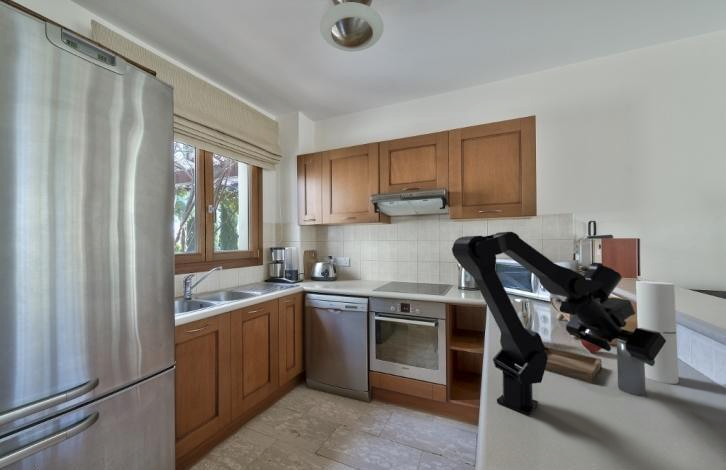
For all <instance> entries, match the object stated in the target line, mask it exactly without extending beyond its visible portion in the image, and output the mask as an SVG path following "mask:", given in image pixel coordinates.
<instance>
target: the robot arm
mask: <svg viewBox="0 0 726 470" xmlns="http://www.w3.org/2000/svg"><path fill="white" fill-rule="evenodd" d="M453 242H454V243H453V245H452V247H451V252H452V255H453V257H454V259H455V260H456V261H457V262H458V264H459V265H460V266H461V267H462V269H463V270H465V271H466V272H467V273H468V274H469V276H471V277H472V279H473V280H474V282H475V283H476V286H477V287H478V289H479V292H480V293H481V296H482V298H483V300H484V301H485V303H486V305H487V308H488V309H489V311H490V313H491V315H492V316H493V317H492V318H493V319H494V321H495V323H496V324H497V327H498V329H499V331H500V339H499V341H500V343H499V344H500V346H501V348H500V350H499V351H497V352H498V353H496V354H495V356H494V357H493V359H492V360H493V364H494V367H495V368H496V369H499V370H500V371H502V394H501V395H500V396H499V397H498V398H496V403H497V404H500V405H503V406H504V407H507V408H510V409H512V410H514V411H517V412H520V413H522V414H525V415H527V416H530V415H531V414H532V413H533V411H534V410H535V409H536V408H537V407H538V406H539V401H538V400H536V399H533V396H534V395H533V384H541V383H542V380H543V378H544V375H545V374H544V373H545V371H546V370H545V368H546V364H547V360H548V356H547V353H546V351H545V350H548V349H547V348H546V347H545V346H546V345H544V343H543V340H542V337H541V336H542V335H540V333H538V332H536V331H534V330H532V331H531V330H529V329H526V328H524V326H523V324H522V322H521V320H520V318H519V316H518V314H517V312H516V310H515V308H514V307H513V305H512V303H513V302H512V300H511V299H510V297H509V294H508V292H507V291H506V288H505V286H504V284H503V283H502V281H501V279H500V277H499V275H498V272H497V270H496V266H497V255H498V256H499V255H501V254H504V255H506V256H508V257H509V258H510V259H512V260H513V261H514V262H516V263H517V264H518V265H520V266H522V267H523V268H524V269H526V270H527V271H529V272H530V273H532V274H533V275H534V276H536V278H538V281H539V284H540V285H541V286H542V287H543V288H544V289H545V290H546V291H547V293H549V294H550V295H555V296H561V297H565V298H564V300H562V301H561V303H560V306H559V312H561V313H564V314H568V315H571V318H570V320H569V321H568V322H567V323H566V324H565V330H566V331H567V333H568V334H569V335H571V336H572V337H573V336H574V337H575V338H577V339H580V341H581V340H584V341H586V342H588V343H591V344H593V345H595V346H598V347H600V348H602V349H601V350H605V351H606V352H610V351H611V350H612V347H611V346H610V344H609V343H612V341H613V340H616V338H617V339H620V340H623V341H627V342H626V350H627V351H628V352H629V353H630V354H631V356H633V357H634V358H636V359H638V360H640V361H642V362H644V363H646V364H648V365H650V366H653V365H654V364H655V360H654V359H655V357H656V356H657V354H658V353H659V351H660V350H661V348H662V347H663V345H664V344H665V342H666V340H665V338H664V337H663V336H662V335H661V334H660V332H656V331H652V330H648V329H644V328H638V327H636V328H635V329H634V330H633V331H631V330H626V329H622V328H625V327H626V326H627V322H626V320H627V319H628V318H629V317H632V316H634V315H636V312H635V309H634V307H633V305H632V304H633V303H632V302H631V300H629V299H624V298H618V297H609V296H610V295H611V294H612V293H613V291H614V290H615V288H616V287H617V286H618V285H619V283H620V282H621V280H622V279H623V278H622V275H621V274H620V273H619V272H618V271H615V269H612V268H611V267H608V266H605V265H604V264H603V263H602V262H592V263H591V264H589V267H588V269H587V270H586V271H585V273H584V274H581V273H580V272H577V271H576V270H573V269H571V268H568V267H565V266H562V265H559V264H557V263H555V262H553V261H552V260H551V259H550V258H548V257H547V256H545V255H544V254H542V253H541V252H540V251H538V250H537V249H536V248H534V247H533V246H531V245H530V244H529V243H527V242H526V241H525V240H523V239H522V238H520V236H519V234H517V232H516V233H515V232H513V231H501V232H496V233H495V234H489V235H484V236H483V235H471V236H470V235H469V236H468V235H467V236H460V237H458V238H457V239H456V240H454V241H453Z"/></svg>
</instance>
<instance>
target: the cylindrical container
mask: <svg viewBox="0 0 726 470" xmlns="http://www.w3.org/2000/svg"><path fill="white" fill-rule="evenodd" d="M635 289H636V290H635V293H636V294H635V295H636V319H637V328H644V329H648V330H652V331H656V332H660V334H661V335H662V336H663V337H664V338H665V340H666V342H665V344H664V345H663V347H662V348H661V350H660V351H659V353H658V354H657V356H656V357H655V359H654V360H655V364H654V365H653V366H650V365H648V364H646V363H645V379H647V380H652V381H654V382H657V383H658V382H659V383H662V384H668V385H671V384H672V385H673V384H674V385H677V384H679V366H678V365H679V364H678V360H679V359H678V344H677V343H678V341H677V340H678V338H677V337H678V336H677V320H676V318H677V317H676V297H675V296H676V295H675V294H676V292H675V283H672V282H667V281H666V282H664V281H654V280H653V281H651V280H636V281H635Z"/></svg>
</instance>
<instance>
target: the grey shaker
mask: <svg viewBox="0 0 726 470" xmlns="http://www.w3.org/2000/svg"><path fill="white" fill-rule="evenodd" d="M615 340H616V363H617V364H616V365H617V388H618V390H620V391H621V392H624V393H626V394H630V395H632V396H639V397H640V396H641V397H643V396H644V397H645V396H646V394H647V392H646V391H647V390H646V388H647V387H646V377H645V363H644V362H642V361H640V360H638V359H636V358H634V357H633V356H631V354H630V353H629V352H628V351H627V350H626V342H627V341H623V340H620V339H617V338H616V339H615Z"/></svg>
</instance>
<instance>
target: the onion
mask: <svg viewBox="0 0 726 470" xmlns="http://www.w3.org/2000/svg"><path fill="white" fill-rule="evenodd" d="M580 343H581V345H582V346H583V347H584V348H585V349H586V350H587V351H589V352H590V353H592V354H595V353H597V352H599V351H601V350H603V349H602V348H600V347H598V346H595V345H593V344H591V343H588V342H586V341H584V340H581V339H580Z"/></svg>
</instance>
